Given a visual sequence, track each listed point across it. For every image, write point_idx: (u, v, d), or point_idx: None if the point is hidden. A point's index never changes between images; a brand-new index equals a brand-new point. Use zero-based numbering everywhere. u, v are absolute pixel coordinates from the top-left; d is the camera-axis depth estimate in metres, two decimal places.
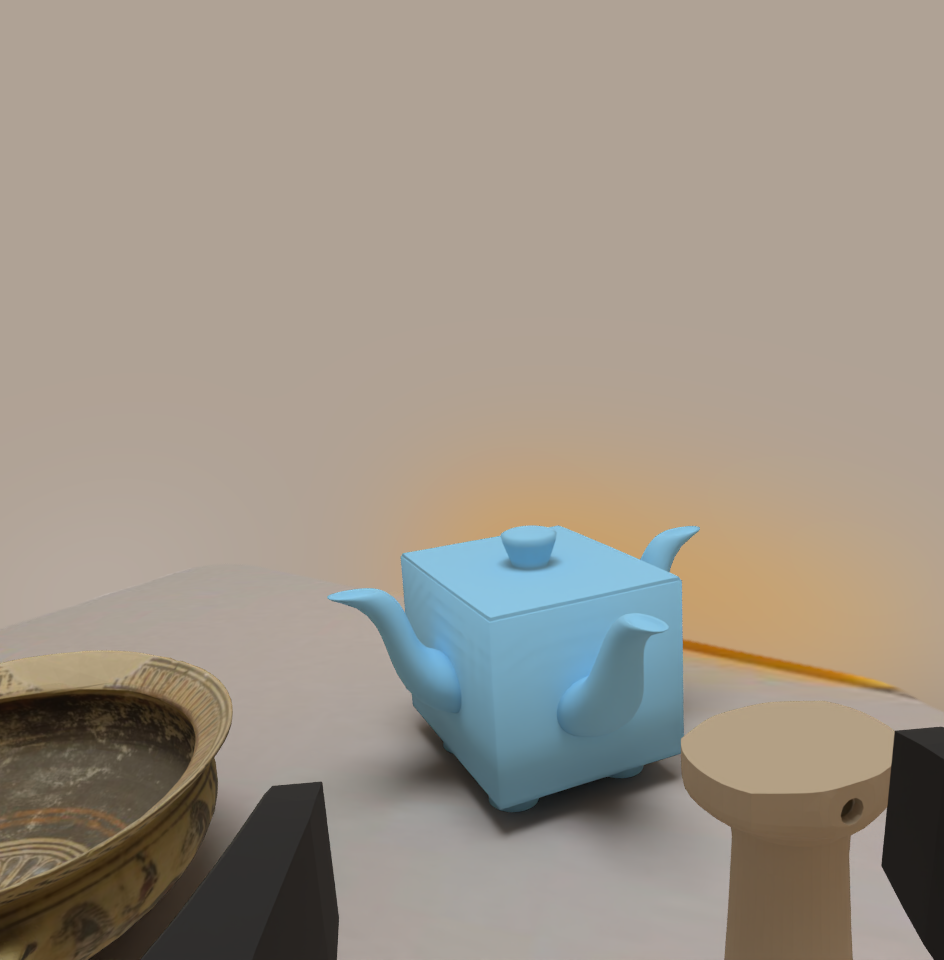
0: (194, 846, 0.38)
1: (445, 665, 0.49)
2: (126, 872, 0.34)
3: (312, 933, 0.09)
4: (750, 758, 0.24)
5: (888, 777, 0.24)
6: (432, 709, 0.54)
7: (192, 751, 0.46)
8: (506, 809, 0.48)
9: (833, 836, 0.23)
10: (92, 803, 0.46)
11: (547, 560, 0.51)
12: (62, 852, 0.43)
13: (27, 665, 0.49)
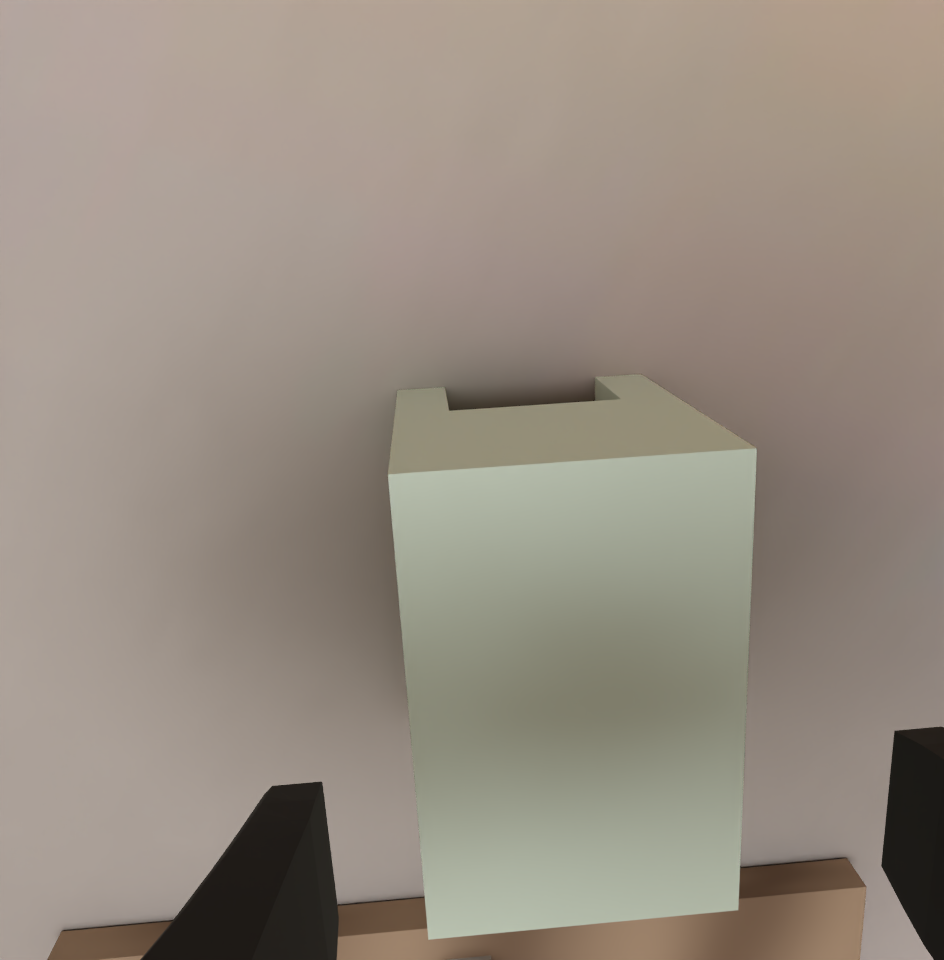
0: None
1: None
2: None
3: (312, 934, 0.09)
4: None
5: None
6: None
7: None
8: None
9: None
10: None
11: None
12: None
13: None
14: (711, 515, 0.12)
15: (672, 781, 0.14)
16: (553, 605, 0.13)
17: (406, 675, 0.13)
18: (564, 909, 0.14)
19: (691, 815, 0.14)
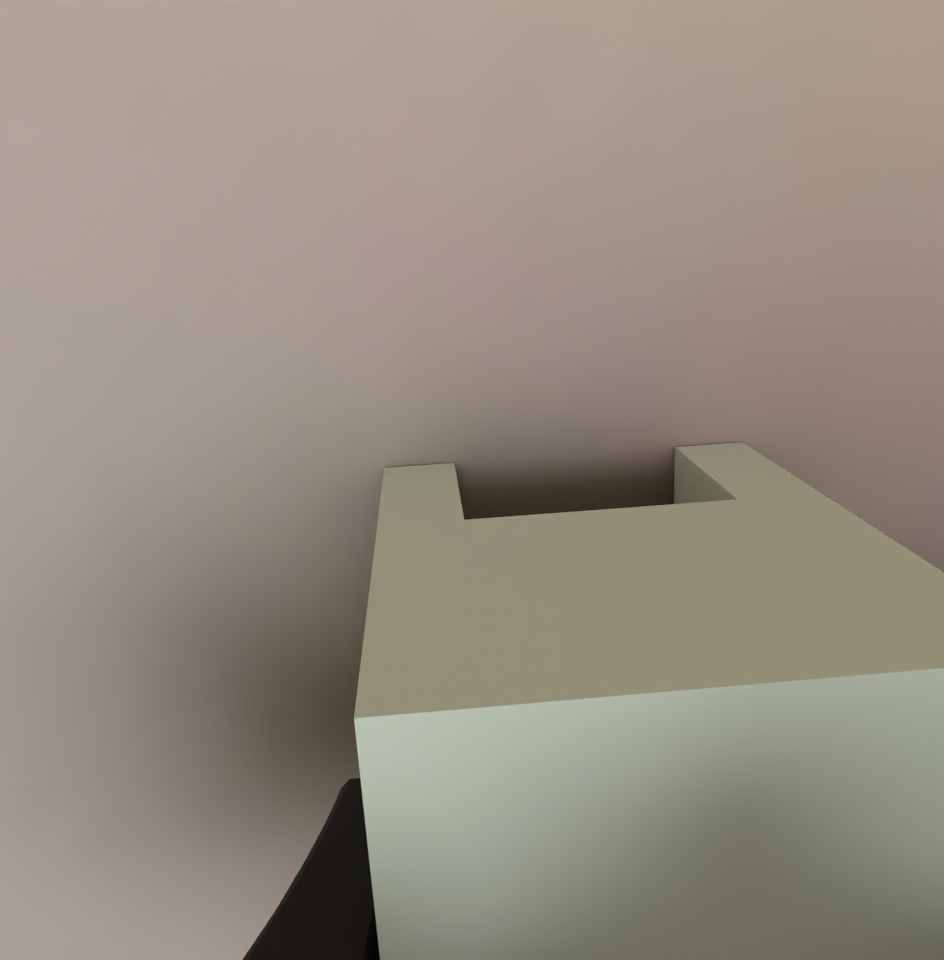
0: None
1: None
2: None
3: None
4: None
5: None
6: None
7: None
8: None
9: None
10: None
11: None
12: None
13: None
14: None
15: None
16: (668, 937, 0.07)
17: None
18: None
19: None
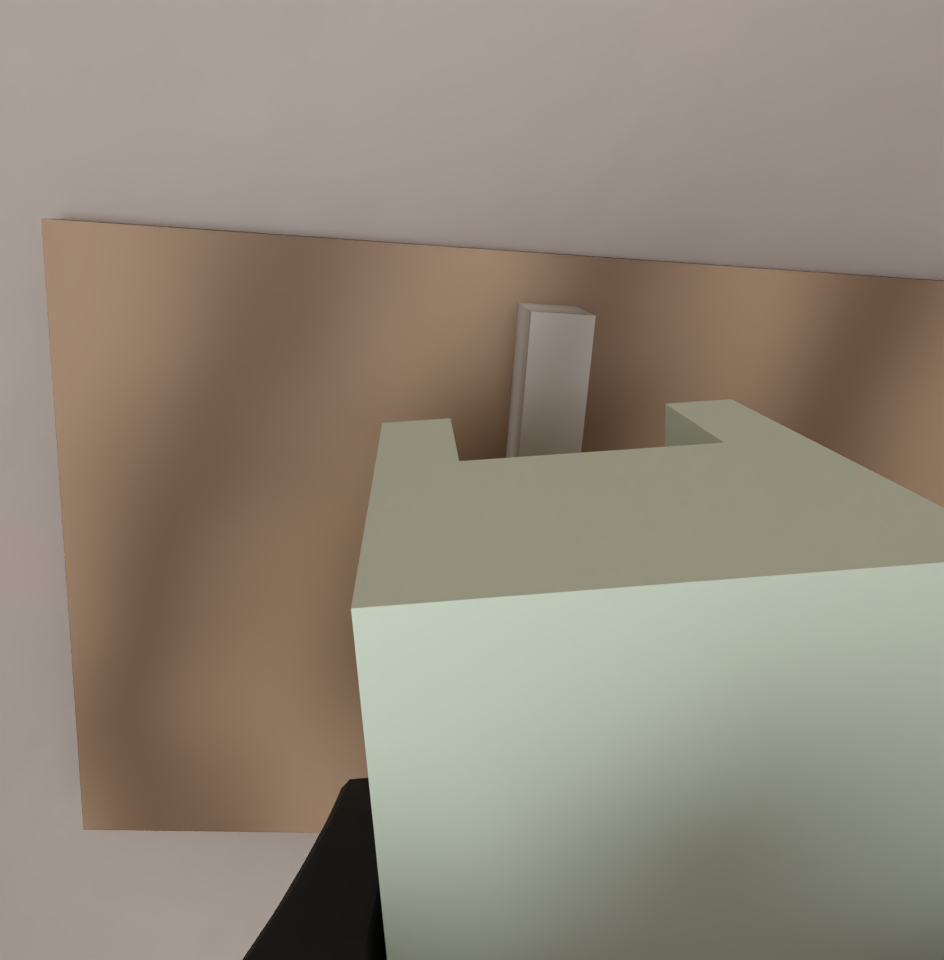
0: None
1: None
2: None
3: None
4: None
5: None
6: None
7: None
8: None
9: None
10: None
11: None
12: None
13: None
14: None
15: None
16: (652, 829, 0.07)
17: (388, 951, 0.07)
18: None
19: None
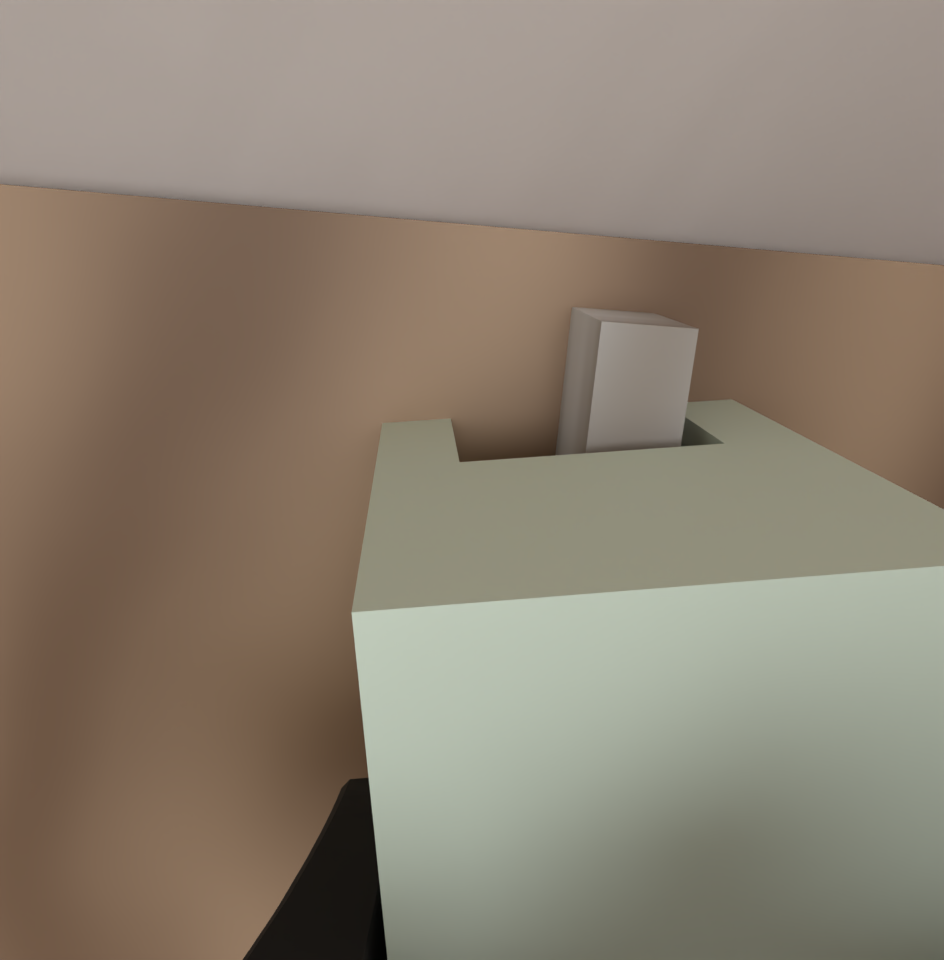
0: None
1: None
2: None
3: None
4: None
5: None
6: None
7: None
8: None
9: None
10: None
11: None
12: None
13: None
14: None
15: None
16: (653, 833, 0.07)
17: (389, 954, 0.07)
18: None
19: None
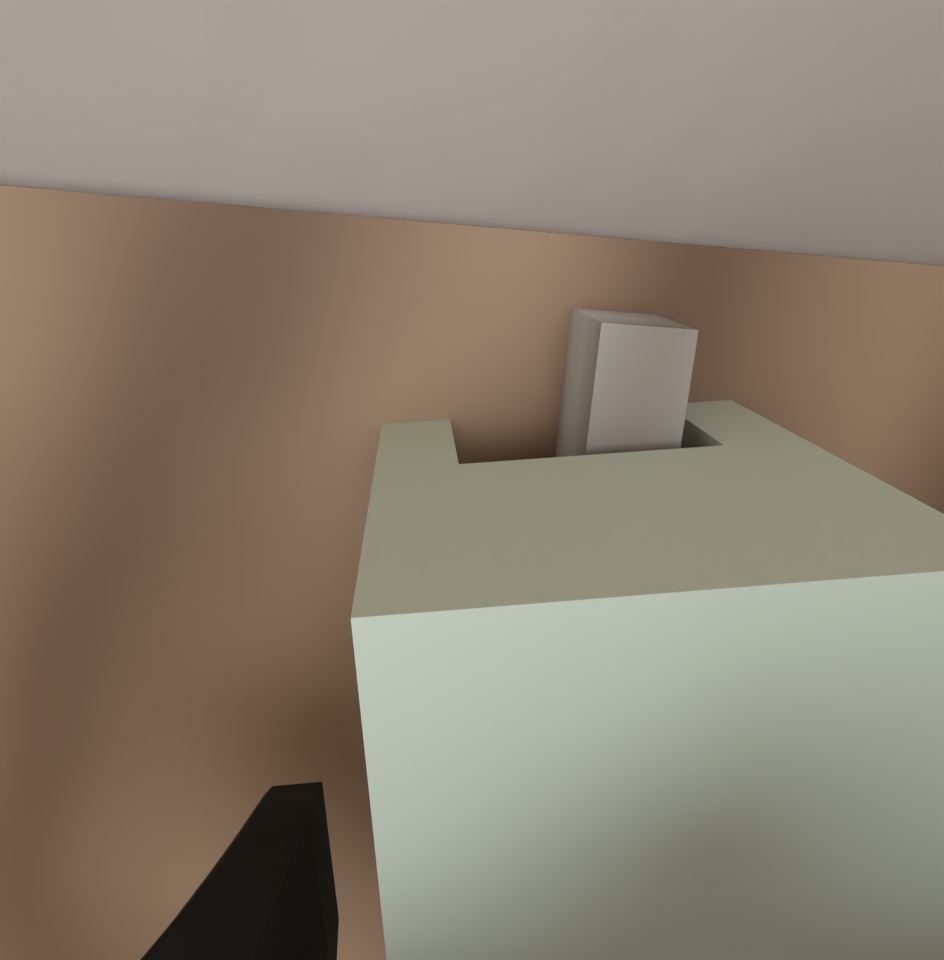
0: None
1: None
2: None
3: (311, 933, 0.09)
4: None
5: None
6: None
7: None
8: None
9: None
10: None
11: None
12: None
13: None
14: (943, 682, 0.07)
15: None
16: (652, 837, 0.07)
17: (388, 957, 0.07)
18: None
19: None
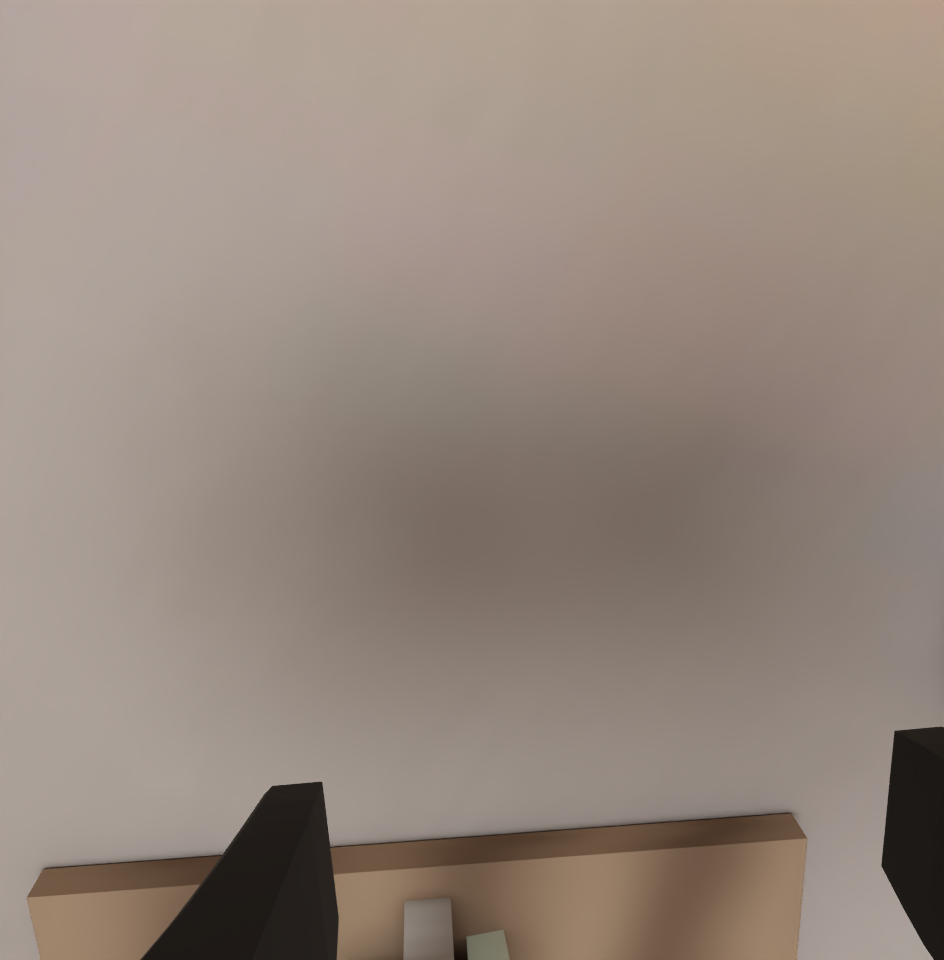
0: None
1: None
2: None
3: (312, 933, 0.09)
4: None
5: None
6: None
7: None
8: None
9: None
10: None
11: None
12: None
13: None
14: None
15: None
16: None
17: None
18: None
19: None
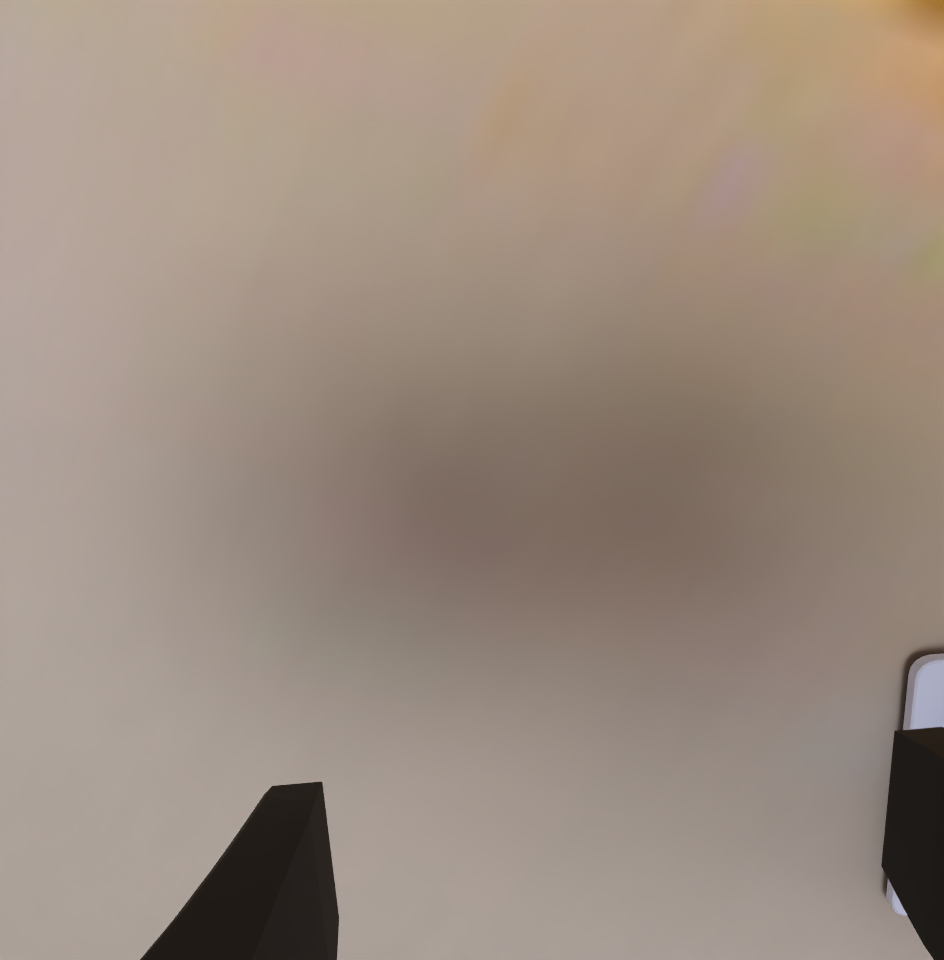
0: None
1: None
2: None
3: (312, 934, 0.09)
4: None
5: None
6: None
7: None
8: None
9: None
10: None
11: None
12: None
13: None
14: None
15: None
16: None
17: None
18: None
19: None
